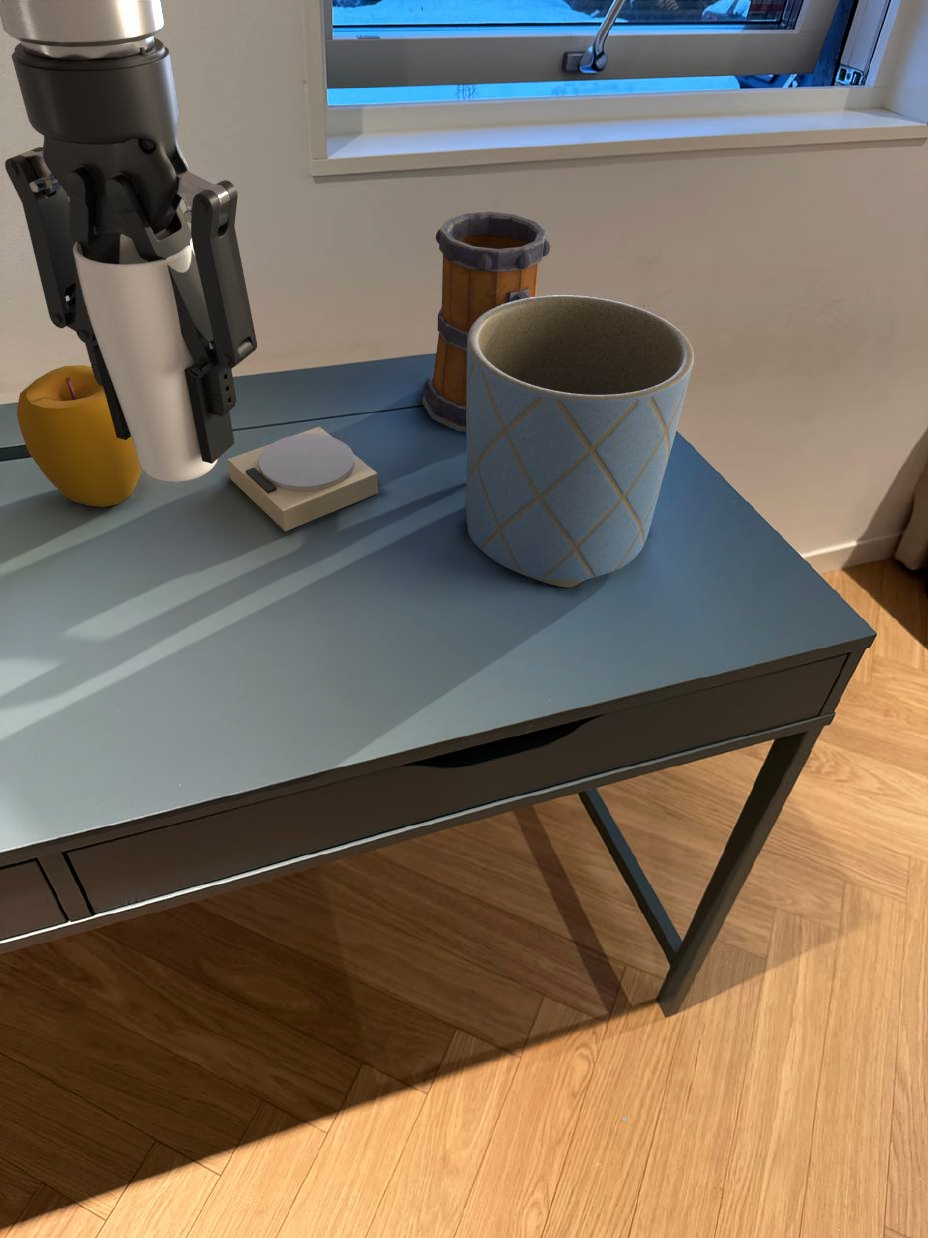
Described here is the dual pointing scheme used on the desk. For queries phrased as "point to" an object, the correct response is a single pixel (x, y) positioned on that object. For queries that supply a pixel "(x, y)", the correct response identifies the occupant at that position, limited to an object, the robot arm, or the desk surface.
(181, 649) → the desk surface
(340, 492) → the scale
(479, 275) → the mug
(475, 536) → the planter
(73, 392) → the apple
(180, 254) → the drinking glass
